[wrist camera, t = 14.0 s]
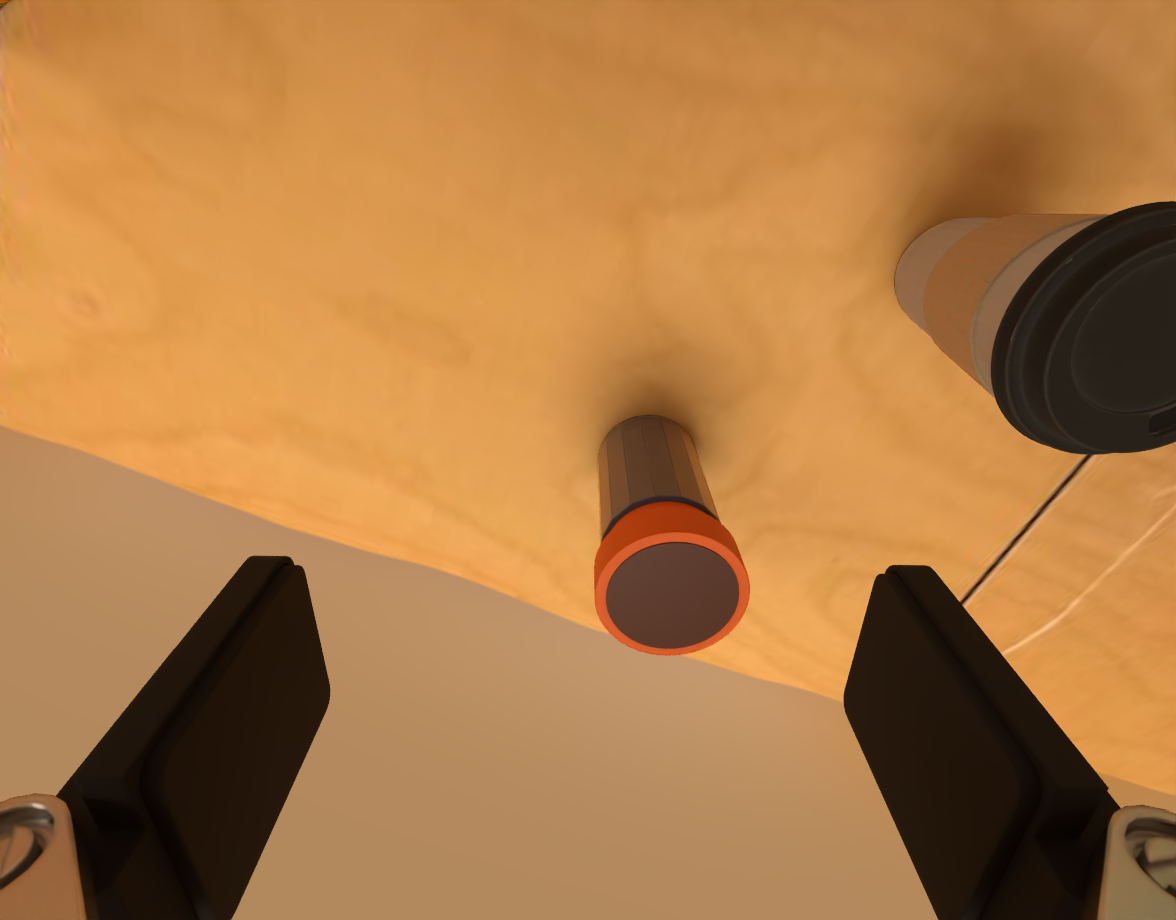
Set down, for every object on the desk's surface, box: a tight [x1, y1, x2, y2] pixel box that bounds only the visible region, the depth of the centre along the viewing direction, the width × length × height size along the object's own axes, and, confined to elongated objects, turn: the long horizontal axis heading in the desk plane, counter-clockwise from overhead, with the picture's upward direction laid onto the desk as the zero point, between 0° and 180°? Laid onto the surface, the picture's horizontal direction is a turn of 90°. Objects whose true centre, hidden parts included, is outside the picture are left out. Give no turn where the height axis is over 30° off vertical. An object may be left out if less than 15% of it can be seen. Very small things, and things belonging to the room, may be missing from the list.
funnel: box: [594, 501, 750, 656], centre depth 33 cm, size 7×7×10 cm
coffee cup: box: [895, 201, 1176, 455], centre depth 29 cm, size 9×9×15 cm
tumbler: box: [598, 415, 721, 545], centre depth 36 cm, size 6×6×10 cm
